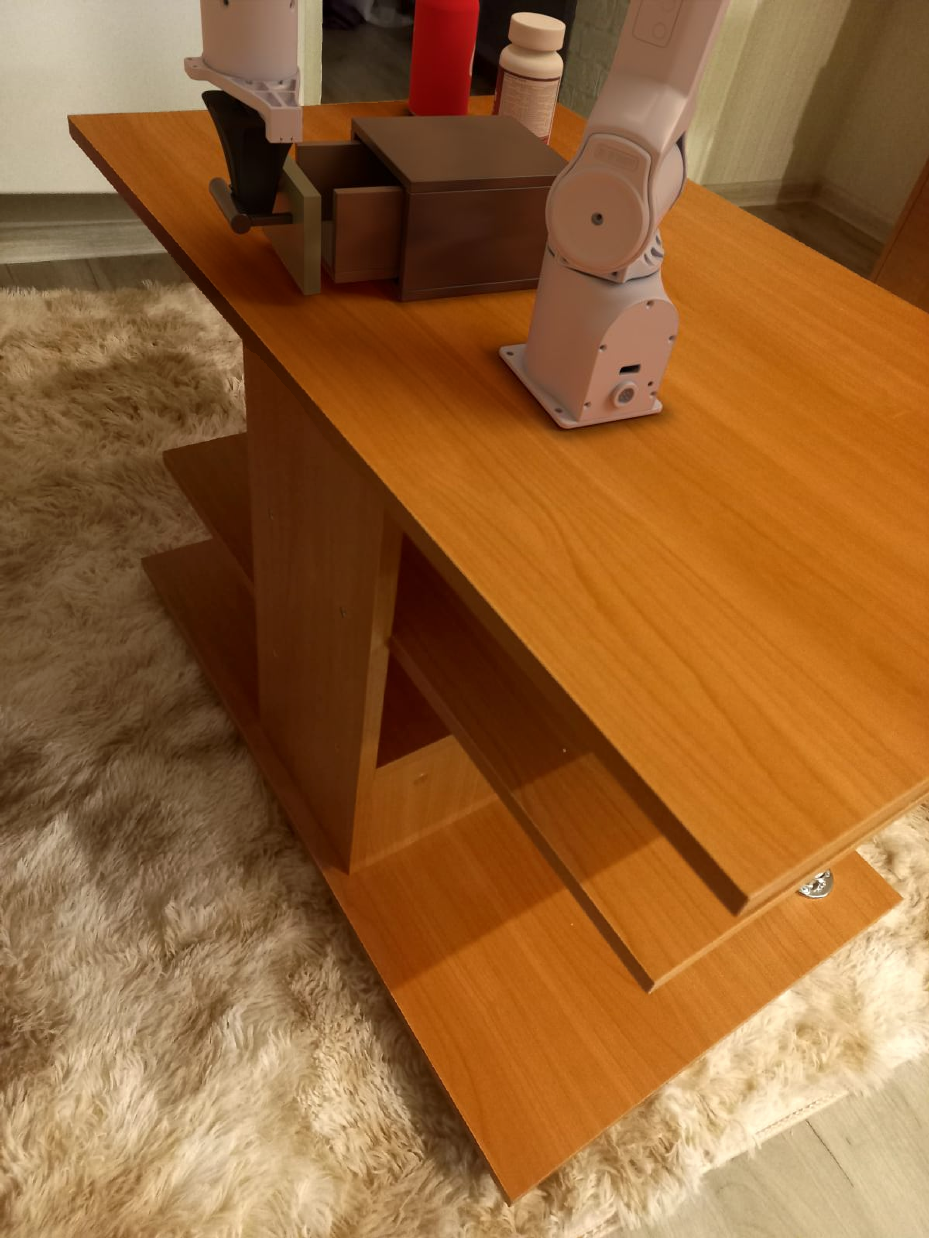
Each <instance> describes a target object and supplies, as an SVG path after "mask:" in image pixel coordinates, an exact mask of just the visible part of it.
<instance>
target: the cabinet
mask: <svg viewBox="0 0 929 1238" xmlns="http://www.w3.org/2000/svg"><path fill="white" fill-rule="evenodd" d="M350 119H351V120H350V139H349V140H362V141H363V142H364V143H365V144H366V145H367V146H368V147H369V149H370V150H371V151H372V152H373V153H374V154H375V155H376V156H377V157H378V158H379V159H380V160H381V162H382V163H383V164H384V165H385V166H386V167H387V168H388V169H389V170H390V171H391V172H392V173H393V175H394V176H395V177H396V178H397V179H398V180H399V181H400V182H401V183H402V184H403V185H404V187H405V188H406V197H405V210H404V223H403V235H402V248H401V261H400V273H399V278H389V279H383V280H384V281H385V283H386V284H387V285H388V287H389V288H390V289H391V290H392V291H393V293H394V294H395V296H396V297H397V298H398V299H399V301H400V302H401V303H403V302H413V301H423V300H432V299H442V298H451V297H461V296H462V297H463V296H470V295H471V296H472V295H480V294H481V295H482V294H491V293H500V292H501V293H502V292H511V291H519V290H528V289H529V290H530V289H531V290H532V289H537V288H538V283H539V278H540V273H541V268H542V263H543V258H544V253H545V248H546V243H547V239H548V230H547V225H546V216H545V210H546V201H547V197H548V193H549V191H550V188H551V186H552V184H553V182H554V181H555V179H556V178H557V176H558V175H559V174H560V173H561V171H562V170H563V169H564V168H565V167H566V166H567V165H568V164H569V163H570V161H569V160H567V159H566V158H565V157H563V156H562V155H561V154H559V152H557V151H556V150H555V149H554V148H552V147H551V146H550V145H547V144H546V143H545V142H544V141H542V140H541V139H540V138H539V137H537V136H536V135H535V134H534V133H532V132H531V131H530V130H529V129H528V128H526V127H525V126H524V125H523V124H521V123H520V122H519V121H518V120H516V119H515V118H514V117H513V116H512V115H492V114H488V115H487V114H483V115H482V114H481V115H479V114H477V115H467V116H369V117H368V116H367V117H366V116H365V117H364V116H363V117H362V116H360V117H354V116H353V117H351V118H350Z"/></svg>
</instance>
